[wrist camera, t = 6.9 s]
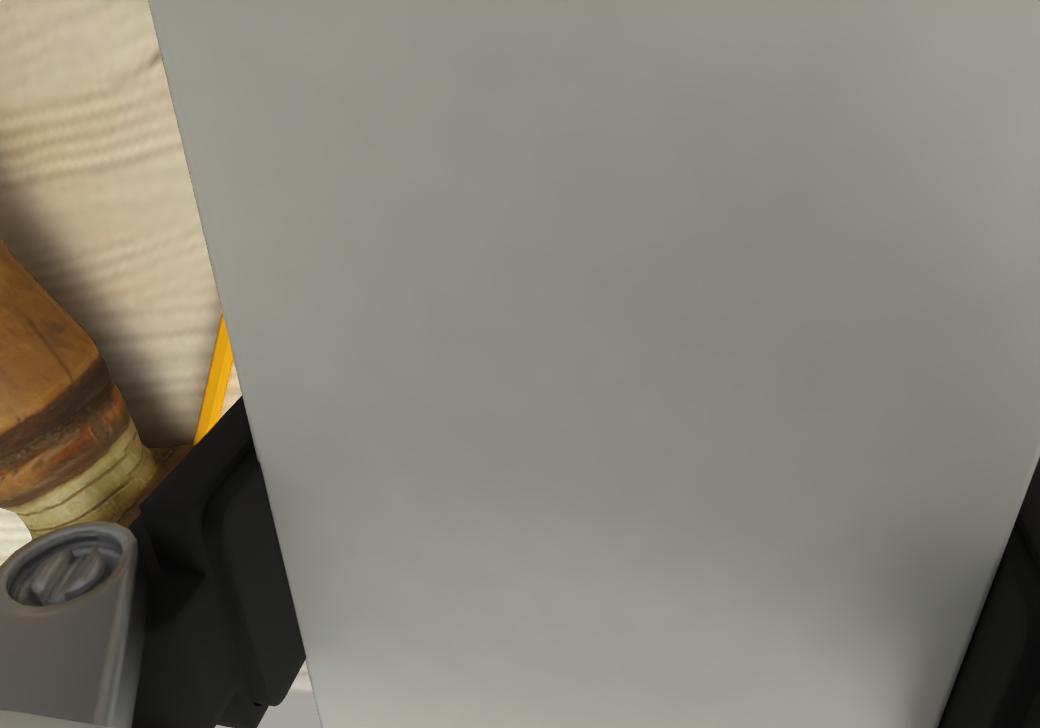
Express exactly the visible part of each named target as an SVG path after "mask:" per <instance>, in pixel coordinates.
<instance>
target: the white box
mask: <svg viewBox="0 0 1040 728" xmlns="http://www.w3.org/2000/svg"><path fill="white" fill-rule="evenodd" d="M148 1H149V6H150V10H151V14H152V18H153V22H154V27H155V31H156V35H157V39H158V43H159V48H160V52H161V56H162V60H163V64H164V69H165V73H166V77H167V81H168V85H169V90H170V94H171V98H172V102H173V106H174V111H175V115H176V119H177V123H178V127H179V132H180V136H181V140H182V144H183V148H184V153H185V157H186V161H187V165H188V169H189V174H190V178H191V182H192V186H193V190H194V195H195V199H196V203H197V207H198V211H199V216H200V220H201V224H202V228H203V232H204V236H205V241H206V245H207V249H208V253H209V257H210V262H211V266H212V270H213V274H214V278H215V283H216V287H217V291H218V295H219V299H220V304H221V308H222V312H223V316H224V320H225V325H226V329H227V333H228V337H229V341H230V346H231V350H232V354H233V358H234V362H235V367H236V371H237V375H238V379H239V383H240V388H241V392H242V396H243V400H244V404H245V409H246V413H247V417H248V421H249V425H250V430H251V434H252V438H253V442H254V446H255V451H256V455H257V459H258V461H259V462H260V465H261V469H262V473H263V477H264V481H265V486H266V490H267V494H268V498H269V502H270V507H271V511H272V515H273V519H274V523H275V528H276V532H277V536H278V540H279V545H280V549H281V553H282V557H283V561H284V566H285V570H286V574H287V578H288V582H289V587H290V591H291V595H292V599H293V603H294V608H295V612H296V616H297V620H298V624H299V629H300V633H301V637H302V641H303V646H304V650H305V654H306V659H305V660H306V665H307V669H308V673H309V677H310V681H311V686H312V690H313V694H314V698H315V702H316V707H317V711H318V715H319V719H320V723H321V728H938V726H939V723H940V720H941V718H942V715H943V712H944V710H945V707H946V704H947V702H948V699H949V696H950V694H951V691H952V688H953V686H954V683H955V680H956V678H957V675H958V672H959V670H960V667H961V664H962V662H963V659H964V656H965V654H966V651H967V648H968V646H969V643H970V641H971V638H972V635H973V633H974V630H975V627H976V625H977V622H978V619H979V617H980V614H981V611H982V609H983V606H984V603H985V601H986V598H987V595H988V593H989V590H990V587H991V585H992V582H993V579H994V577H995V574H996V571H997V569H998V566H999V563H1000V561H1001V558H1002V555H1003V553H1004V550H1005V548H1006V545H1007V542H1008V540H1009V537H1010V534H1011V532H1012V529H1013V526H1014V524H1015V521H1016V518H1017V516H1018V513H1019V510H1020V508H1021V505H1022V502H1023V500H1024V497H1025V494H1026V492H1027V489H1028V486H1029V484H1030V481H1031V478H1032V476H1033V473H1034V470H1035V468H1036V465H1037V462H1038V460H1039V457H1040V0H148Z"/></svg>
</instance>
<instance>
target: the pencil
mask: <svg viewBox="0 0 1040 728" xmlns="http://www.w3.org/2000/svg"><path fill="white" fill-rule="evenodd" d="M232 360H233V354H232V350H231V346H230V341H229V337H228V333H227V329H226V325H225V320H224V316H223V312H222V314H221V319H220V323H219V328H218V332H217V337H216V341H215V346H214V350H213V355H212V359H211V364H210V369H209V373H208V378H207V382H206V387H205V391H204V396H203V400H202V405H201V409H200V414H199V418H198V423H197V427H196V432H195V437H194V441H193V445H196V444H197V443H198V442H199V441H200V440H201V439H202V438H203V437H204V436H205V435H206V434H207V432H208V431H209V430H210V429H211V428H212V427H213V426H214V425H215V424H216V423H217V422H218V419H219V415H220V411H221V407H222V402H223V398H224V394H225V390H226V386H227V381H228V377H229V373H230V369H231V365H232Z"/></svg>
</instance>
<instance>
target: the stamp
mask: <svg viewBox="0 0 1040 728" xmlns="http://www.w3.org/2000/svg"><path fill="white" fill-rule="evenodd" d="M194 446H195V445H193V444H192V445H181V446H177V447H175V448H147V447H146V446H144V445H143V444H142V443H141V442H140V438H139V435H138V432H137V429H136V427H135V425H134V423H133V420H132V418H131V416H130V414H129V410H128V406H127V404H126V402H125V400H124V398H123V396H122V394H121V393H120V391H119V389H118V388H117V386H116V385H115V384H114V382H113V381H112V380H111V378H110V376H109V373H108V370H107V367H106V364H105V361H104V360H103V358H102V356H101V355H100V353H99V351H98V350H97V347H96V345H95V343H94V342H93V341H92V339H91V338H90V337H89V335H88V333H87V332H86V331H85V330H84V329H83V328H81V327H80V326H79V325H78V324H77V323H76V322H75V321H74V320H73V319H72V318H71V317H70V315H69V314H68V313H67V312H66V311H65V310H64V309H63V308H61V307H60V306H59V305H58V304H57V303H56V302H55V301H54V300H53V298H52V297H51V296H50V295H49V294H48V293H47V292H46V291H45V290H44V289H43V288H42V287H41V286H40V285H39V284H38V283H37V281H36V280H35V279H34V278H33V277H32V276H31V274H30V273H29V272H28V271H27V270H26V269H25V268H24V267H23V266H22V265H21V264H20V263H19V262H18V261H17V260H16V259H15V258H14V257H13V255H12V254H11V253H10V251H9V250H8V249H7V247H6V246H5V245H4V243H3V242H2V241H1V240H0V508H3V509H6V510H9V511H12V512H15V513H17V515H18V516H19V517H20V518H21V519H22V520H23V522H24V523H25V525H26V526H27V528H28V529H29V531H30V534H31V536H32V540H33V539H35V538H37V537H39V536H42V535H44V534H46V533H48V532H51V531H53V530H55V529H58V528H61V527H65V526H69V525H72V524H76V523H82V522H92V521H104V522H112V523H117V524H119V525H121V526H123V527H125V528H128V527H129V526H130V524H131V523H132V522H133V521H134V520H135V519H136V518H137V517H138V516H139V515H140V514H141V511H140V508H139V505H140V504H141V503H142V502H143V501H144V500H145V499H146V498H147V497H148V496H149V495H150V494H151V492H152V491H153V490H154V489H155V488H156V487H157V486H158V485H159V484H160V483H161V482H162V481H163V480H164V479H165V477H166V476H167V475H168V474H169V473H170V472H171V471H172V470H173V469H174V468H175V467H176V466H177V465H178V464H179V462H180V461H181V460H182V459H183V458H184V457H185V456H186V455H187V454H188V453H189V452H190V451H191V450H192V449H193V447H194Z"/></svg>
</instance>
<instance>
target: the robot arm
mask: <svg viewBox="0 0 1040 728" xmlns="http://www.w3.org/2000/svg"><path fill="white" fill-rule="evenodd" d="M139 508H140V511H141V514H140V515H139V516H138V517H137V518H136V519H135V520H134V521H133V522H132V523H131V524H130V526H129V527H128V528H125V527H123V526H121V525H119V524H117V523H112V522H104V521H92V522H82V523H76V524H72V525H69V526H65V527H61V528H58V529H55V530H53V531H51V532H48V533H46V534H44V535H42V536H39V537H37V538H35V539H33V540H32V541H30V542H29V543H27V544H26V545H24V546H23V547H21V548H20V549H18V550H17V551H15V552H14V553H13V554H12V555H11V556H10V557H9V558H8V559H7V560H6V561H5V562H4V563H3V564H2V565H1V566H0V728H214V727H215V726H216V725H221V726H226V727H232V728H257V726H258V724H259V723H260V721H261V719H262V717H263V715H264V714H265V712H266V710H267V708H268V706H269V705H270V706H277V705H279V704H280V703H281V702H282V701H283V699H284V698H285V696H286V695H287V693H288V691H289V689H290V687H291V685H292V683H293V682H294V680H295V678H296V676H297V674H298V672H299V670H300V668H301V667H302V665H303V663H304V661H305V659H306V654H305V650H304V646H303V641H302V637H301V633H300V629H299V624H298V620H297V616H296V612H295V608H294V603H293V599H292V595H291V591H290V587H289V582H288V578H287V574H286V570H285V566H284V561H283V557H282V553H281V549H280V545H279V540H278V536H277V532H276V528H275V523H274V519H273V515H272V511H271V507H270V502H269V498H268V494H267V490H266V486H265V481H264V477H263V473H262V469H261V465H260V462H259V461H258V459H257V455H256V451H255V446H254V442H253V438H252V434H251V430H250V425H249V421H248V417H247V413H246V409H245V404H244V400H243V396H241V397H240V398H239V399H238V400H237V401H236V402H235V404H234V405H233V406H232V407H231V408H230V409H229V410H228V411H227V412H226V413H225V414H224V415H223V416H222V417H221V419H220V420H219V421H218V422H217V423H216V424H215V425H214V426H213V427H212V428H211V429H210V430H209V431H208V432H207V434H206V435H205V436H204V437H203V438H202V439H201V440H200V441H199V442H198V443H197V444H196V445H195V446H194V447H193V449H192V450H191V451H190V452H189V453H188V454H187V455H186V456H185V457H184V458H183V459H182V460H181V461H180V462H179V464H178V465H177V466H176V467H175V468H174V469H173V470H172V471H171V472H170V473H169V474H168V475H167V476H166V477H165V479H164V480H163V481H162V482H161V483H160V484H159V485H158V486H157V487H156V488H155V489H154V490H153V491H152V492H151V494H150V495H149V496H148V497H147V498H146V499H145V500H144V501H143V502H142V503H141V504H140V505H139ZM938 728H1040V457H1039V460H1038V462H1037V465H1036V468H1035V470H1034V473H1033V476H1032V478H1031V481H1030V484H1029V486H1028V489H1027V492H1026V494H1025V497H1024V500H1023V502H1022V505H1021V508H1020V510H1019V513H1018V516H1017V518H1016V521H1015V524H1014V526H1013V529H1012V532H1011V534H1010V537H1009V540H1008V542H1007V545H1006V548H1005V550H1004V553H1003V555H1002V558H1001V561H1000V563H999V566H998V569H997V571H996V574H995V577H994V579H993V582H992V585H991V587H990V590H989V593H988V595H987V598H986V601H985V603H984V606H983V609H982V611H981V614H980V617H979V619H978V622H977V625H976V627H975V630H974V633H973V635H972V638H971V641H970V643H969V646H968V648H967V651H966V654H965V656H964V659H963V662H962V664H961V667H960V670H959V672H958V675H957V678H956V680H955V683H954V686H953V688H952V691H951V694H950V696H949V699H948V702H947V704H946V707H945V710H944V712H943V715H942V718H941V720H940V723H939V726H938Z"/></svg>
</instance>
